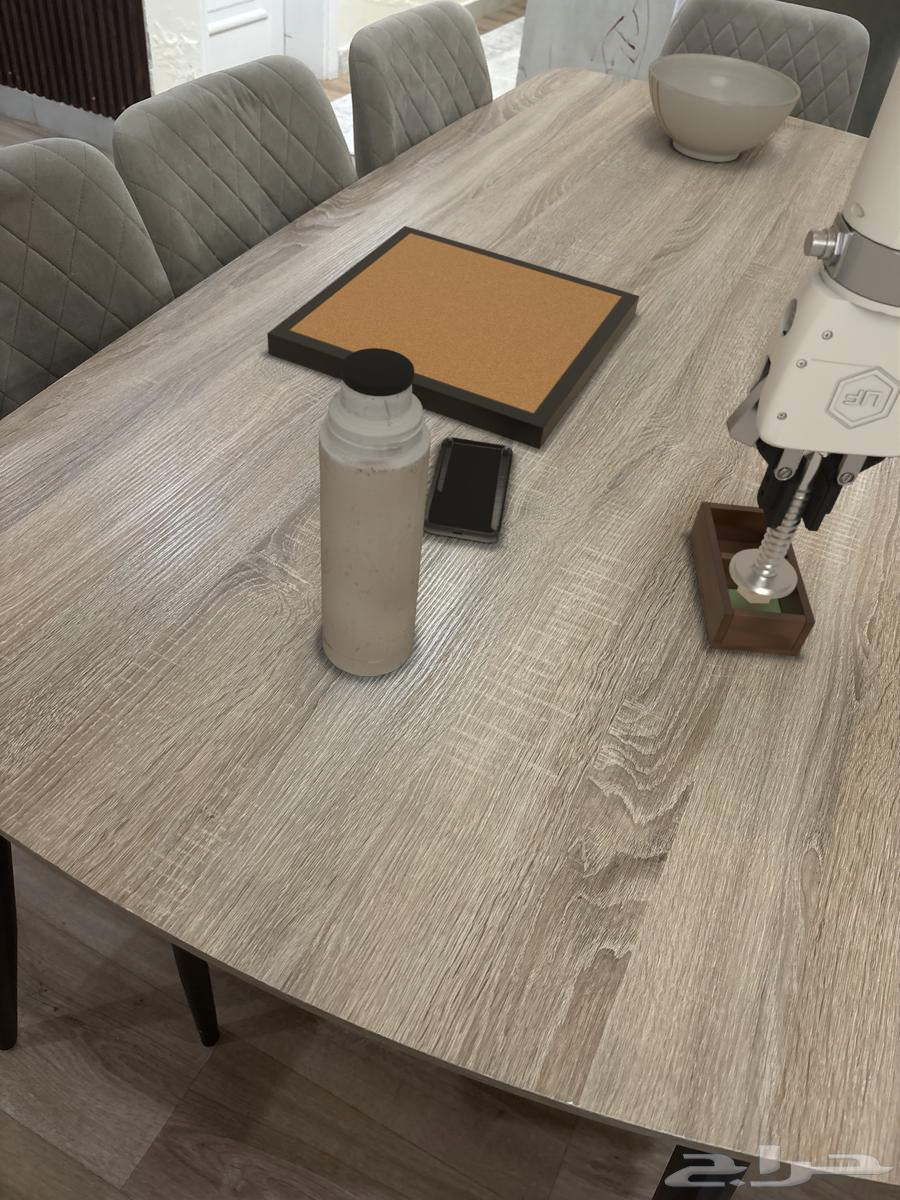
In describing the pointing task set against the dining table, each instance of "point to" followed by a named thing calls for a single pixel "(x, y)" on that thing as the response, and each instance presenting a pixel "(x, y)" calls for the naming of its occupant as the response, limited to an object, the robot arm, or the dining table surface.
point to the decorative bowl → (718, 103)
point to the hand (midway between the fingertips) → (788, 514)
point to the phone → (468, 490)
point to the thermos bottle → (372, 513)
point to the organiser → (724, 607)
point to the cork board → (465, 330)
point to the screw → (776, 545)
